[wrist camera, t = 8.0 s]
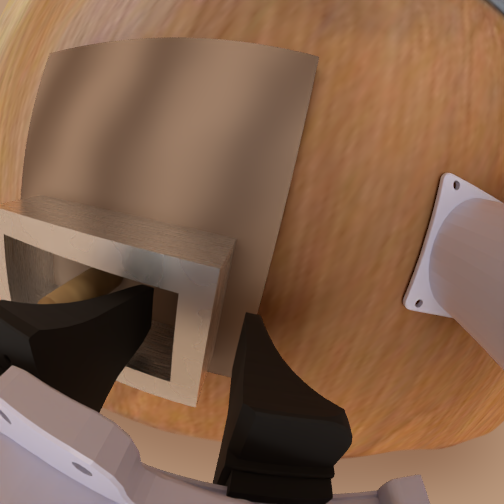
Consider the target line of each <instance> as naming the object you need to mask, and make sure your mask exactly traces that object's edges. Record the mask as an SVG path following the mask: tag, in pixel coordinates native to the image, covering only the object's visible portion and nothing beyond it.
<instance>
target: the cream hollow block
mask: <svg viewBox="0 0 504 504" xmlns="http://www.w3.org/2000/svg"><path fill="white" fill-rule="evenodd" d="M235 244H236V239H235V238H231V237H226V236H222V235H218V234H213V233H209V232H205V231H200V230H196V229H192V228H187V227H183V226H179V225H174V224H170V223H165V222H161V221H157V220H152V219H148V218H143V217H139V216H134V215H130V214H125V213H121V212H116V211H112V210H107V209H103V208H98V207H94V206H89V205H85V204H80V203H76V202H71V201H66V200H62V199H57V198H52V197H48V196H43V195H40V196H35V197H30V198H25V199H20V200H16V201H11V202H7V203H2V204H0V298H1V300H8V301H14V302H21V303H31V304H37V303H38V302H39V300H40V299H42V298H43V297H45V296H46V295H48V294H49V293H51V292H52V291H54V290H55V289H57V288H59V287H60V286H58V285H56V284H54V273H53V254H56V255H59V256H62V257H64V258H67V259H70V260H73V261H76V262H79V263H82V264H85V265H88V266H90V267H93V268H96V269H100V270H103V271H106V272H109V273H112V274H115V275H118V276H121V277H125V278H128V279H131V280H134V281H138V282H141V283H144V284H148V285H151V286H154V287H158V288H161V289H165V290H168V291H172V292H176V293H179V295H178V304H177V312H176V321H175V327H173V326H170V325H166V324H163V323H160V322H157V321H153V320H152V326H151V328H150V330H149V332H148V334H147V336H146V338H145V340H144V342H143V343H142V345H141V346H140V347H139V349H138V350H137V351H136V353H135V354H134V356H133V357H132V358H131V360H130V361H129V362H128V364H127V365H126V366H125V368H124V369H123V370H122V372H121V373H120V375H119V376H118V378H117V379H116V381H119V382H121V383H123V384H126V385H129V386H131V387H134V388H136V389H139V390H142V391H145V392H147V393H150V394H153V395H156V396H159V397H162V398H165V399H168V400H171V401H175V402H178V403H181V404H185V405H188V406H192V407H196V405H197V402H198V399H199V396H200V393H201V390H202V387H203V384H204V381H205V377H206V374H207V371H208V368H209V365H210V362H211V359H212V356H213V351H214V346H215V341H216V336H217V331H218V326H219V321H220V316H221V311H222V306H223V301H224V296H225V291H226V286H227V282H228V277H229V272H230V267H231V263H232V258H233V253H234V248H235Z"/></svg>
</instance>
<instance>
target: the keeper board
mask: <svg viewBox="0 0 504 504" xmlns="http://www.w3.org/2000/svg"><path fill="white" fill-rule="evenodd" d="M318 59H319V57H318V56H314V55H310V54H306V53H302V52H298V51H293V50H289V49H284V48H279V47H273V46H268V45H262V44H255V43H248V42H240V41H231V40H221V39H206V38H145V39H131V40H121V41H112V42H105V43H98V44H92V45H86V46H81V47H75V48H71V49H66V50H62V51H58V52H54V53H50V55H49V58H48V60H47V63H46V66H45V69H44V72H43V75H42V79H41V82H40V85H39V89H38V92H37V96H36V100H35V104H34V108H33V112H32V117H31V122H30V127H29V132H28V138H27V144H26V150H25V158H24V166H23V176H22V189H21V199H25V198H30V197H35V196H40V195H43V196H48V197H52V198H57V199H62V200H66V201H71V202H76V203H80V204H85V205H89V206H94V207H98V208H103V209H107V210H112V211H116V212H121V213H125V214H130V215H134V216H139V217H143V218H148V219H152V220H157V221H161V222H165V223H170V224H174V225H179V226H183V227H187V228H192V229H196V230H200V231H205V232H209V233H213V234H218V235H222V236H226V237H231V238H235V239H236V244H235V248H234V253H233V258H232V263H231V267H230V272H229V277H228V282H227V286H226V291H225V296H224V301H223V306H222V311H221V316H220V321H219V326H218V331H217V336H216V341H215V346H214V351H213V356H212V359H211V362H210V365H209V368H208V371H207V372H211V373H215V374H219V375H223V376H227V377H231V376H232V367H233V363H234V358H235V354H236V349H237V345H238V341H239V337H240V333H241V329H242V325H243V321H244V317H245V313H246V312H248V313H252V314H257V313H258V309H259V305H260V302H261V298H262V294H263V290H264V287H265V283H266V279H267V275H268V271H269V267H270V264H271V260H272V256H273V252H274V248H275V244H276V240H277V236H278V232H279V228H280V224H281V220H282V216H283V212H284V208H285V204H286V200H287V196H288V192H289V188H290V183H291V179H292V175H293V171H294V167H295V162H296V158H297V154H298V150H299V145H300V141H301V137H302V132H303V128H304V123H305V119H306V115H307V110H308V106H309V101H310V97H311V92H312V87H313V83H314V78H315V73H316V69H317V64H318ZM53 273H54V284H56V285H58V286H60V287H59V288H57V289H55V290H54V291H52V292H51V293H49V294H48V295H46V296H45V297H43V298H42V299H40V300H39V302H38V303H37V304H57V303H69V302H76V301H82V300H87V299H91V298H95V297H99V296H103V295H107V294H110V293H113V292H116V291H120V290H123V289H126V288H129V287H132V286H136V285H141V284H143V285H146V286H149V287H153V288H154V295H153V308H152V320H153V321H157V322H160V323H163V324H166V325H170V326H173V327H175V321H176V312H177V304H178V295H179V293H176V292H172V291H168V290H165V289H161V288H158V287H154V286H151V285H148V284H144V283H141V282H138V281H134V280H131V279H128V278H125V277H121V276H118V275H115V274H112V273H109V272H106V271H103V270H100V269H96V268H93V267H90V266H88V265H85V264H82V263H79V262H76V261H73V260H70V259H67V258H64V257H62V256H59V255H56V254H53Z"/></svg>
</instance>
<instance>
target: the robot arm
mask: <svg viewBox="0 0 504 504" xmlns="http://www.w3.org/2000/svg"><path fill="white" fill-rule="evenodd" d="M454 181H455V183H456V188H455V189H454V187H453V183H454ZM153 295H154V288H153V287H149V286H146V285H143V284H141V285H136V286H132V287H129V288H126V289H123V290H120V291H116V292H113V293H110V294H107V295H103V296H99V297H95V298H91V299H87V300H82V301H76V302H69V303H57V304H31V303H21V302H14V301H8V300H0V504H430V502H429V499H428V496H427V493H426V490H425V487H424V484H423V481H422V478H421V475H413V476H407V477H402V478H396V479H393V480H390V481H388V482H386V483H385V484H384V485H382V486H381V487H380V488H379V490H377V491H369V492H360V493H347V494H332V485H331V478H333V477H334V474H335V473H334V465H335V464H336V463H337V461H338V460H339V459H340V458H341V457H342V456H343V455H344V454H345V452H346V451H347V450H348V448H349V447H350V445H351V444H352V433H351V429H350V425H349V421H348V418H347V416H346V413H345V410H344V409H342V408H341V407H339V406H337V405H336V404H334V403H332V402H330V401H329V400H327V399H325V398H324V397H322V396H321V395H320V394H318V393H317V392H316V391H314V390H313V389H312V388H310V387H309V386H308V385H307V384H306V383H305V382H303V381H302V380H301V379H300V378H299V377H298V376H297V375H296V374H295V373H294V372H293V371H292V370H291V368H290V367H289V366H288V365H287V364H286V362H285V361H284V360H283V359H282V357H281V356H280V354H279V353H278V351H277V349H276V348H275V346H274V344H273V342H272V340H271V339H270V337H269V335H268V332H267V330H266V328H265V326H264V323H263V320H262V318H261V316H260V315H257V314H252V313H248V312H246V313H245V317H244V321H243V325H242V329H241V333H240V337H239V341H238V345H237V349H236V354H235V358H234V363H233V367H232V376H231V387H230V398H229V408H228V415H227V420H226V425H225V430H224V435H223V439H222V444H221V449H220V454H219V458H218V462H217V467H216V471H215V476H214V480H213V484H212V483H207V482H202V481H198V480H195V479H191V478H187V477H183V476H180V475H176V474H173V473H169V472H166V471H163V470H160V469H157V468H154V467H151V466H148V465H146V464H144V463H142V462H141V460H140V454H139V451H138V449H137V447H136V446H135V444H134V442H133V441H132V439H131V437H130V436H129V435H128V434H127V433H126V432H125V431H124V430H123V429H121V428H120V427H119V426H118V425H117V424H116V423H115V422H113V421H111V420H110V419H108V418H106V417H105V416H103V415H101V414H100V413H99V412H100V410H101V408H102V406H103V404H104V402H105V400H106V398H107V396H108V394H109V392H110V390H111V388H112V386H113V384H114V382H115V381H116V379H117V378H118V376H119V375H120V373H121V372H122V370H123V369H124V368H125V366H126V365H127V364H128V362H129V361H130V360H131V358H132V357H133V356H134V354H135V353H136V351H137V350H138V349H139V347H140V346H141V345H142V343H143V342H144V340H145V338H146V336H147V334H148V332H149V330H150V328H151V326H152V308H153ZM418 300H420V302H419V303H418V304H417V305H415V304H416V302H417V301H418ZM403 305H404V306H405V307H406V308H407V309H409V310H413V311H418V312H423V313H429V314H434V315H439V316H445V317H450V318H454V319H455V320H456V321H457V322H458V323H459V324H460V325H461V326H462V327H463V328H464V329H465V330H466V331H467V332H468V333H469V334H470V335H471V336H472V337H473V338H474V339H475V340H476V341H477V342H478V343H479V344H480V345H481V346H482V347H483V349H484V350H485V351H486V352H487V353H488V354H489V355H490V356H491V357H492V358H493V359H494V360H495V361H496V363H497V364H498V365H499V366H500V367H501V368H502V369H503V370H504V203H502V202H500V201H499V200H497V199H496V198H494V197H493V196H491V195H489V194H488V193H486V192H484V191H483V190H481V189H479V188H477V187H476V186H474V185H472V184H470V183H469V182H467V181H465V180H463V179H461V178H459V177H457V176H455V175H454V174H452V173H444V174H443V175H442V176H441V179H440V184H439V188H438V193H437V197H436V201H435V205H434V209H433V213H432V217H431V220H430V224H429V227H428V231H427V234H426V237H425V241H424V244H423V247H422V250H421V253H420V256H419V259H418V262H417V265H416V267H415V270H414V273H413V276H412V278H411V281H410V284H409V286H408V289H407V291H406V294H405V296H404V299H403Z"/></svg>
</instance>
